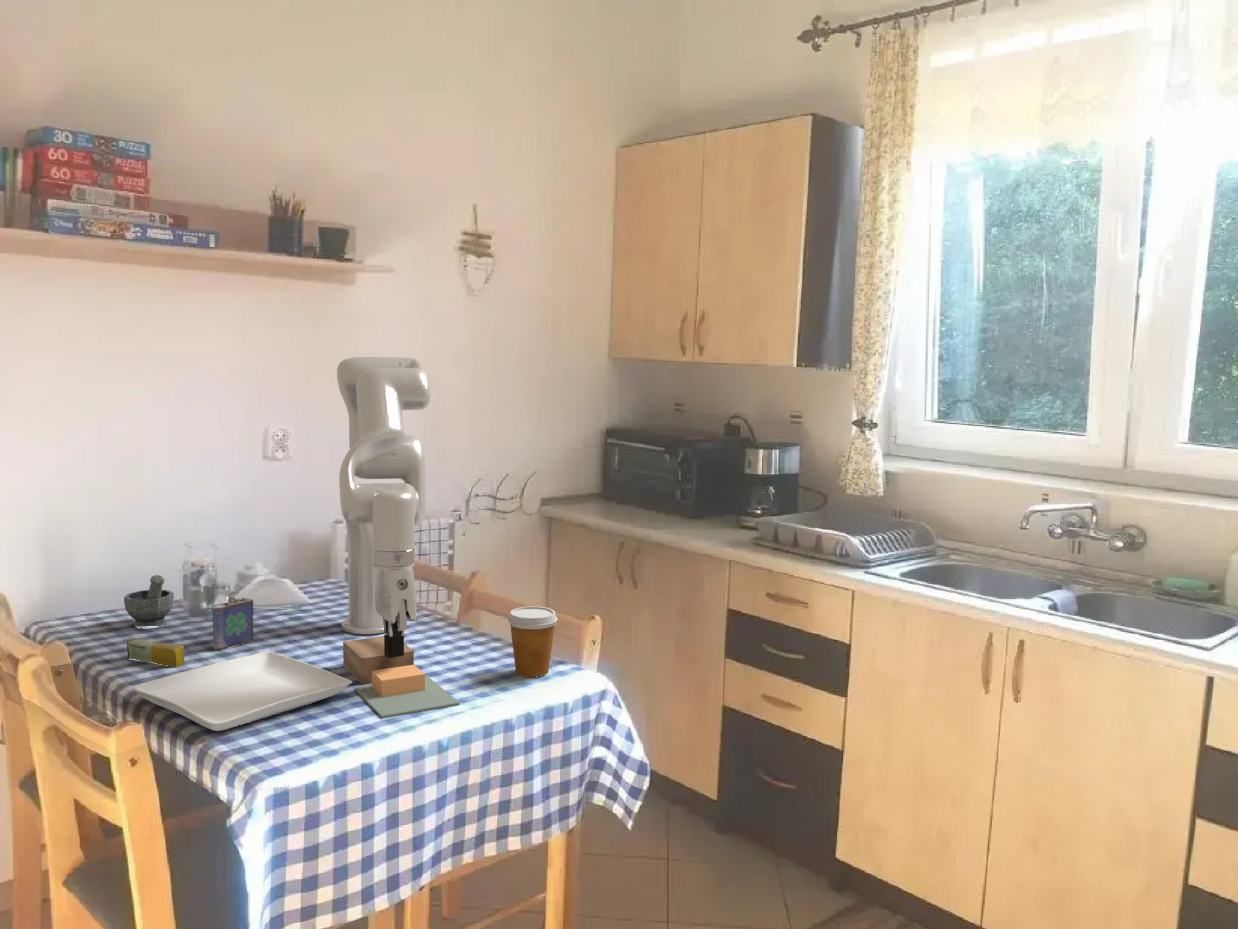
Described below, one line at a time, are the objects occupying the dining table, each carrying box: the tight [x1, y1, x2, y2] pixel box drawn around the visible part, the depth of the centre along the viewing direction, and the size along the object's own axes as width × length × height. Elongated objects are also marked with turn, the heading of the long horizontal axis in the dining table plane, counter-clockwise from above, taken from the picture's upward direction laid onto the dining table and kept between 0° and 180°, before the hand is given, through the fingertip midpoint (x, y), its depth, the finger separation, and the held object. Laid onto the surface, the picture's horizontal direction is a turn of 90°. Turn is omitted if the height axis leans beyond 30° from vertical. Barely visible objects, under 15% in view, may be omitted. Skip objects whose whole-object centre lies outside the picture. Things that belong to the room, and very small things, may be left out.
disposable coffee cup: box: [507, 605, 558, 678], centre depth 199 cm, size 10×10×12 cm
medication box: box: [126, 638, 185, 668], centre depth 201 cm, size 12×3×4 cm, turn 71°
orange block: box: [371, 664, 426, 697], centre depth 188 cm, size 8×6×3 cm
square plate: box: [131, 650, 353, 732], centre depth 182 cm, size 27×27×4 cm
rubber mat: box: [353, 675, 461, 719], centre depth 185 cm, size 14×16×1 cm
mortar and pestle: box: [123, 574, 175, 626], centre depth 225 cm, size 11×9×12 cm
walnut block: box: [342, 635, 415, 686], centre depth 198 cm, size 10×12×5 cm
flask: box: [211, 593, 254, 651], centre depth 213 cm, size 9×3×11 cm, turn 146°
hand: (394, 655), depth 190 cm, fingers closed
